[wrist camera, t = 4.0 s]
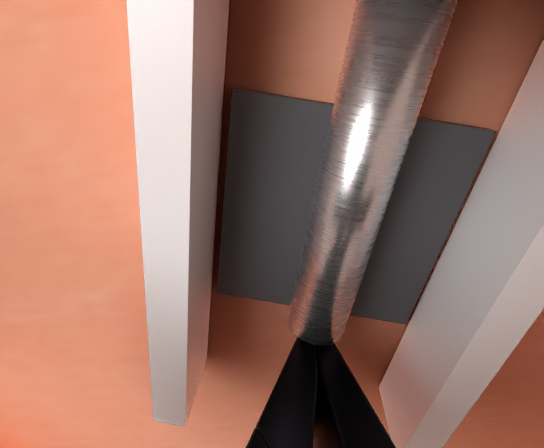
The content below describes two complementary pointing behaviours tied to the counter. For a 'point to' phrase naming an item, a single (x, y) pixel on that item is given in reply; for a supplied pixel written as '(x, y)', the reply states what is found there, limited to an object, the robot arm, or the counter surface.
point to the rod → (364, 154)
